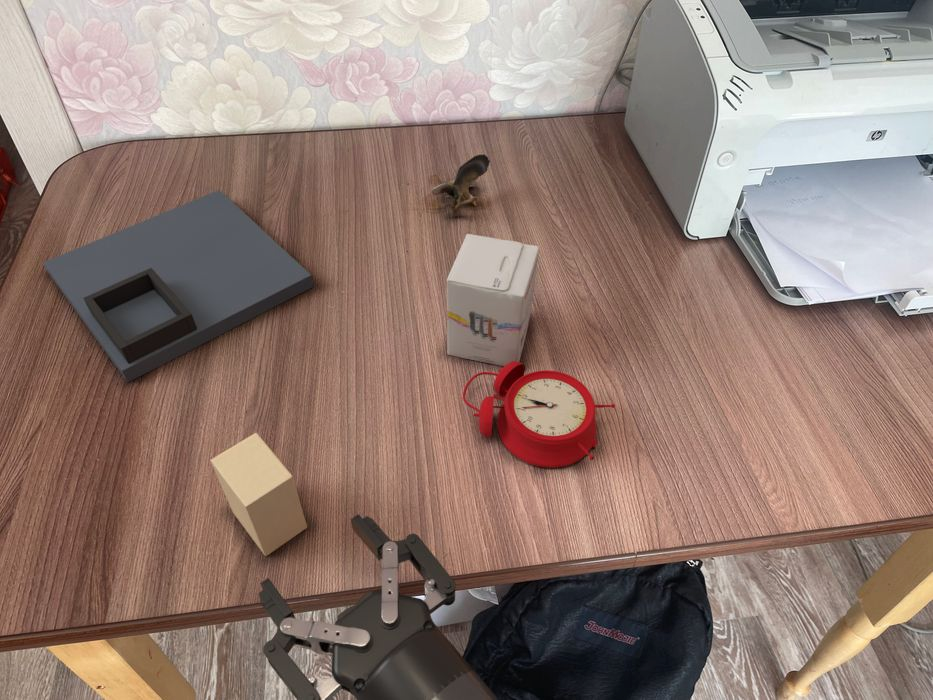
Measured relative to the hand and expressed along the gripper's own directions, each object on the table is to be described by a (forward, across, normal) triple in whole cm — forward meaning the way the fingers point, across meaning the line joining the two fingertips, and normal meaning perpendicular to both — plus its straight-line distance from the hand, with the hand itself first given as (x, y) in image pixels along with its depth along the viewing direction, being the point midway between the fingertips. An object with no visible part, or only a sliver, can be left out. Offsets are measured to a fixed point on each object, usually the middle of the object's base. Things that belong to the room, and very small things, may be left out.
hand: (311, 551), depth 58 cm
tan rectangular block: (+9, 0, +7) cm, 11 cm away
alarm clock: (+1, -27, +7) cm, 28 cm away
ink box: (+13, -32, +7) cm, 35 cm away
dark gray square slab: (+45, -9, +7) cm, 46 cm away
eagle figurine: (+35, -47, +7) cm, 59 cm away
